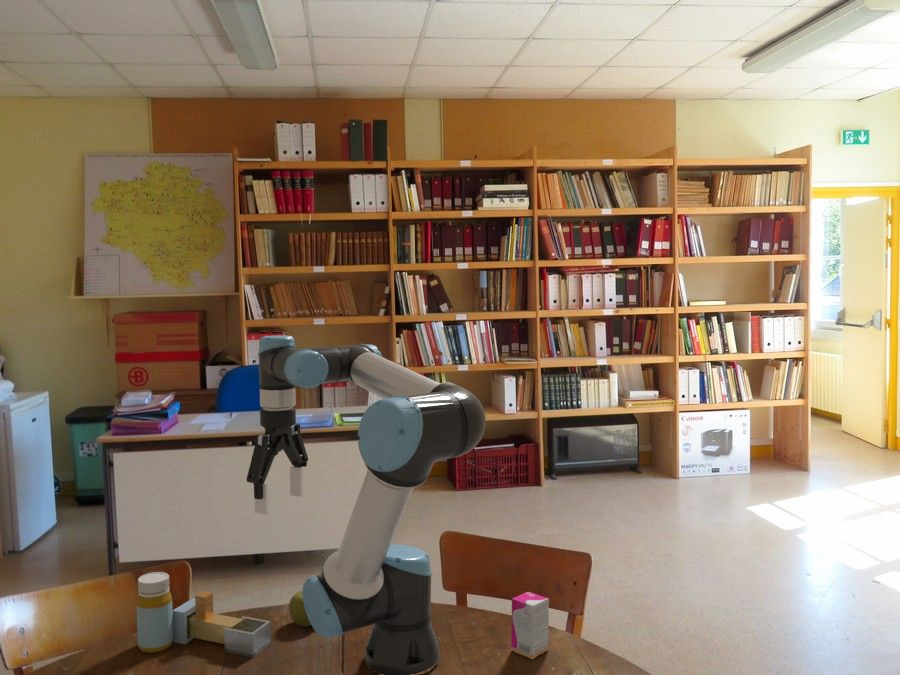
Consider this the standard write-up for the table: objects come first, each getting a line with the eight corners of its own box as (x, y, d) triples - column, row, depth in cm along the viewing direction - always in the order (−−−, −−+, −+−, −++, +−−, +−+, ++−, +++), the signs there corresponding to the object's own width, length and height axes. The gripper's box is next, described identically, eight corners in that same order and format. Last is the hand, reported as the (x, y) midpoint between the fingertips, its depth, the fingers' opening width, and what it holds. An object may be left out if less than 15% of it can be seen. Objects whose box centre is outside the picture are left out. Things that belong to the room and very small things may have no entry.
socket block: (205, 630, 174) (205, 599, 173) (184, 644, 167) (183, 612, 167) (194, 628, 175) (193, 597, 174) (173, 641, 168) (172, 610, 168)
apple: (322, 631, 173) (321, 600, 173) (285, 631, 173) (285, 600, 173) (327, 616, 181) (327, 586, 180) (293, 616, 181) (292, 586, 180)
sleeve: (270, 644, 168) (270, 621, 167) (253, 657, 162) (252, 634, 161) (243, 638, 170) (242, 616, 170) (224, 651, 164) (224, 628, 164)
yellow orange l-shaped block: (243, 637, 168) (242, 596, 168) (232, 645, 165) (231, 604, 164) (194, 627, 173) (192, 587, 172) (181, 635, 169) (180, 594, 169)
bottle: (161, 655, 162) (159, 585, 161) (131, 652, 164) (128, 582, 163) (179, 640, 169) (177, 572, 168) (150, 637, 171) (148, 570, 169)
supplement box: (549, 650, 165) (549, 597, 164) (532, 660, 161) (532, 606, 160) (527, 641, 169) (527, 590, 168) (509, 651, 164) (510, 598, 163)
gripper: (294, 397, 182) (295, 487, 184) (227, 416, 159) (229, 519, 160) (322, 399, 179) (323, 490, 181) (258, 419, 156) (261, 523, 158)
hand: (279, 504), depth 171 cm, fingers open, 13 cm apart
